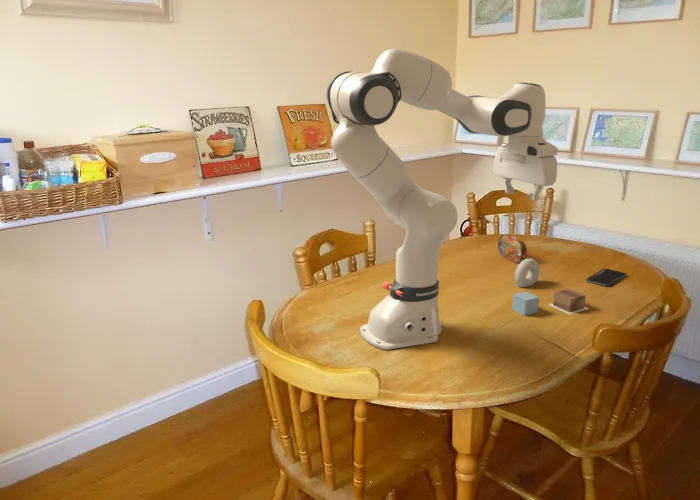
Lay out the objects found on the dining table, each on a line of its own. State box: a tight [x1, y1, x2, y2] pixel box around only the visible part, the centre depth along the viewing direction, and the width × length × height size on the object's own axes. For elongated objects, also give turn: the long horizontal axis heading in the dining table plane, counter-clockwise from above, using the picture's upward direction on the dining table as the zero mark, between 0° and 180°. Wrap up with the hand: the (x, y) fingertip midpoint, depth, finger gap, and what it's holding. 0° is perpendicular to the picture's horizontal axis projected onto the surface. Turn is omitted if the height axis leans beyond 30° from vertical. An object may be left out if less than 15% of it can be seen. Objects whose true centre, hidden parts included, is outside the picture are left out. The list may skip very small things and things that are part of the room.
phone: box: [585, 268, 628, 288], centre depth 185 cm, size 8×1×15 cm
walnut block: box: [553, 288, 587, 312], centre depth 160 cm, size 6×6×4 cm
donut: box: [514, 258, 541, 288], centre depth 177 cm, size 10×4×10 cm, turn 123°
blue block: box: [511, 291, 540, 317], centre depth 158 cm, size 5×5×6 cm
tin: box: [497, 234, 528, 263], centre depth 204 cm, size 15×3×8 cm, turn 17°
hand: (521, 196), depth 152 cm, fingers open, 8 cm apart
